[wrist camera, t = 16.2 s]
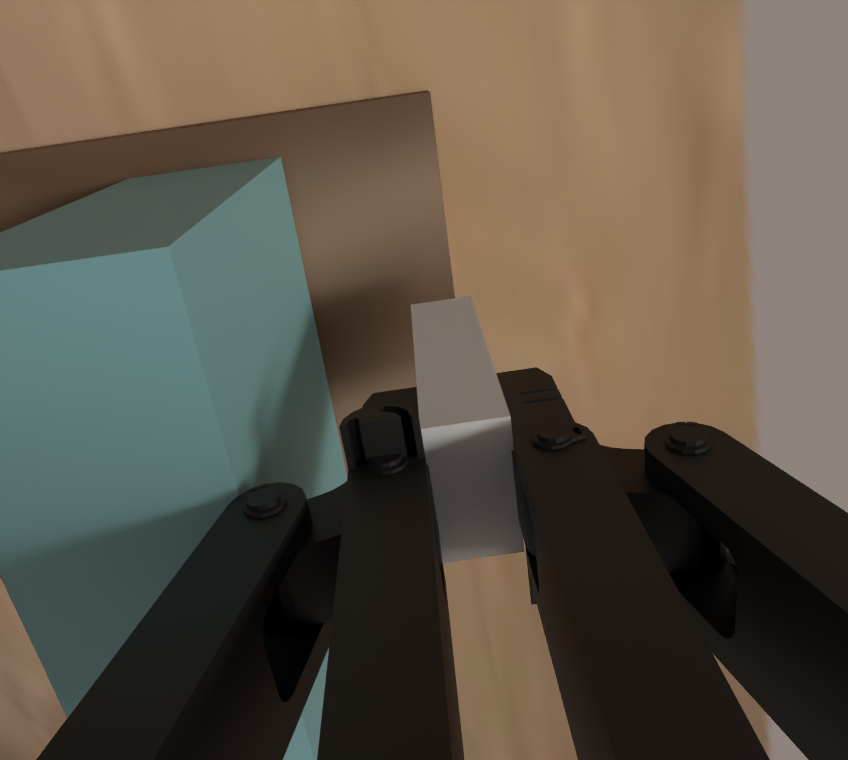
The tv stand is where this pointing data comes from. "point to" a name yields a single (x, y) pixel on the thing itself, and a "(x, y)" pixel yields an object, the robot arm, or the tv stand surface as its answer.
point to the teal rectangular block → (150, 400)
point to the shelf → (301, 215)
